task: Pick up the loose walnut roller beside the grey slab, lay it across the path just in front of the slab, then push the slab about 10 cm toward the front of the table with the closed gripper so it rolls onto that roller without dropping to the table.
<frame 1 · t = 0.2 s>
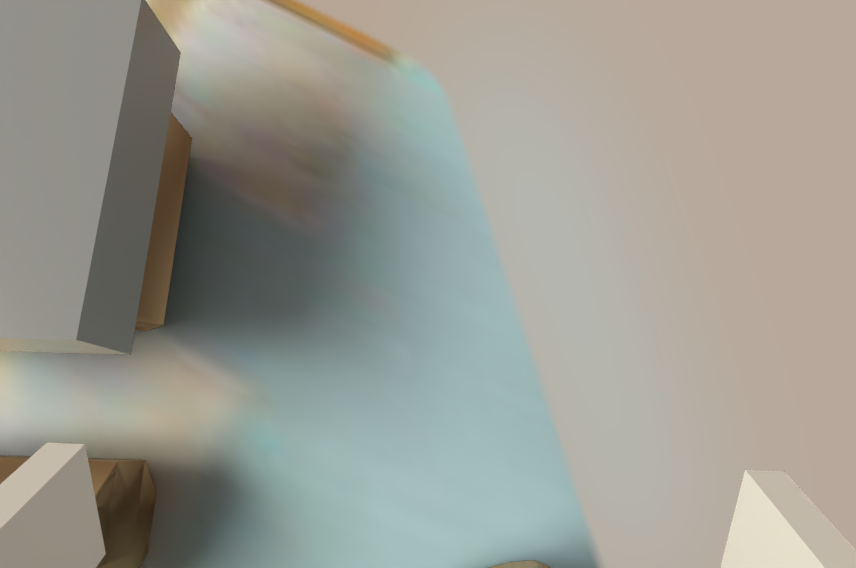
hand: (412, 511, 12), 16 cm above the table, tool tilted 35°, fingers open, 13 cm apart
loose roller: (49, 517, 27), on the table
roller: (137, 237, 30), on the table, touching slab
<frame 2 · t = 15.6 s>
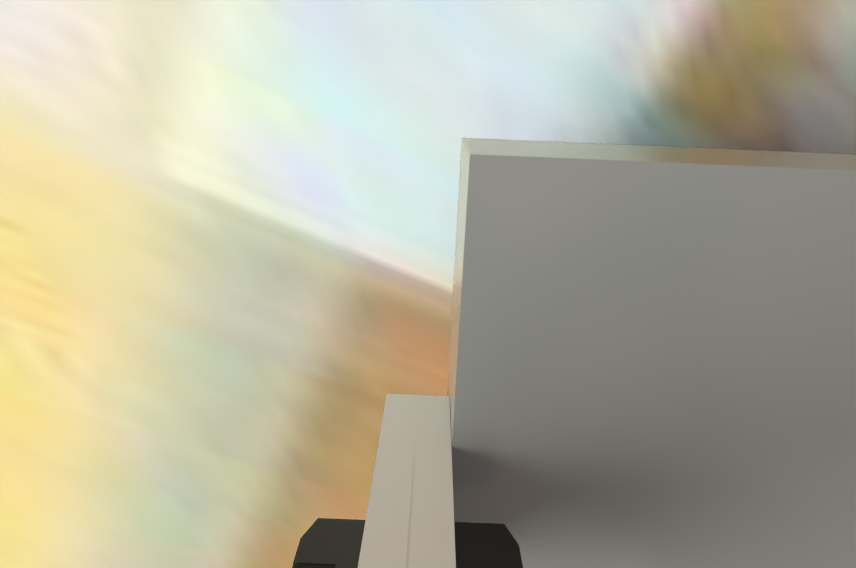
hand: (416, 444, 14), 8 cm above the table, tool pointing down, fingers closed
slab: (747, 421, 15), point 6 cm above the table, touching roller, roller
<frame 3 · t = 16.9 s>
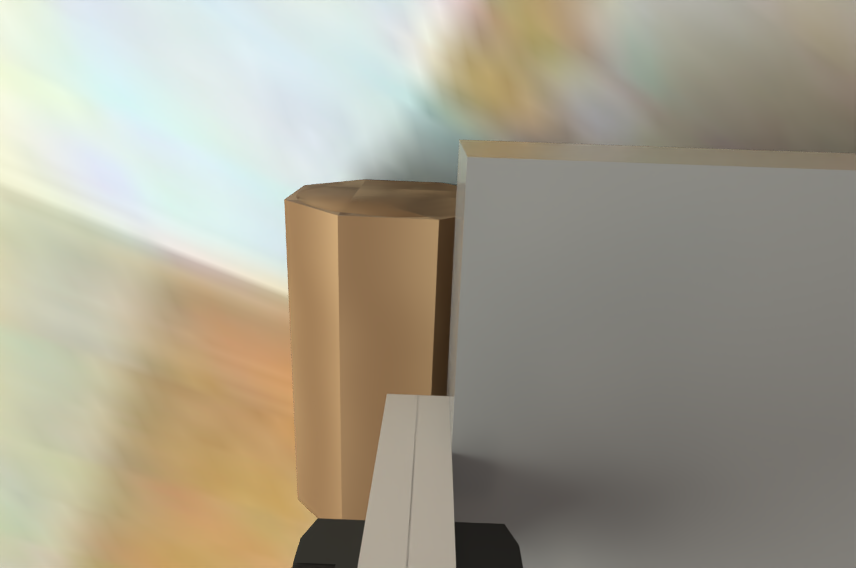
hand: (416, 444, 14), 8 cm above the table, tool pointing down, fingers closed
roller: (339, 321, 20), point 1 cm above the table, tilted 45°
slab: (750, 424, 15), point 6 cm above the table, touching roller, gripper
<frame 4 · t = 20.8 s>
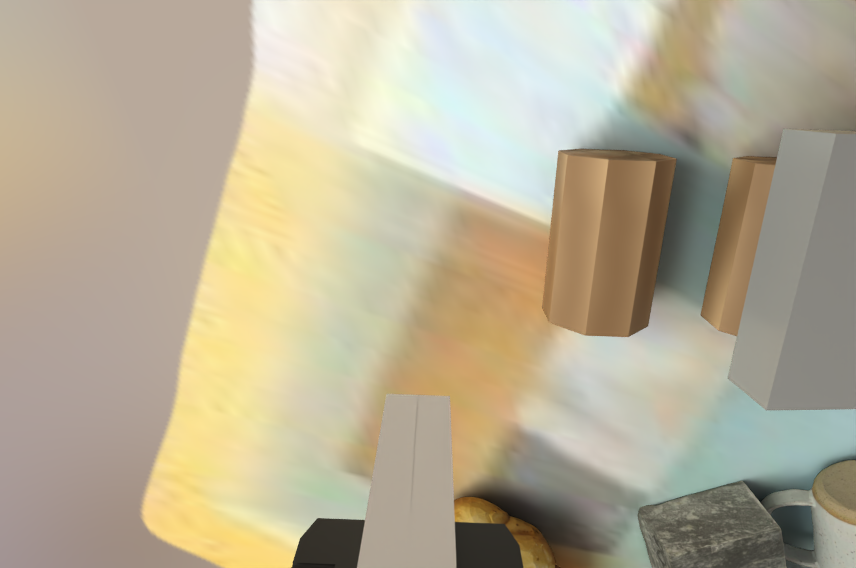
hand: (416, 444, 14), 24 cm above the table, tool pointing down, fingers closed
bread roll: (494, 544, 46), on the table
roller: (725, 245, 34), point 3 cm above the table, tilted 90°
ceramic mug: (821, 502, 44), on the table
stone block: (698, 559, 46), on the table
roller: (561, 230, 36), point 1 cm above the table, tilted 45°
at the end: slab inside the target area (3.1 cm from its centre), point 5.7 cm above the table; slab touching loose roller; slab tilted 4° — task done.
